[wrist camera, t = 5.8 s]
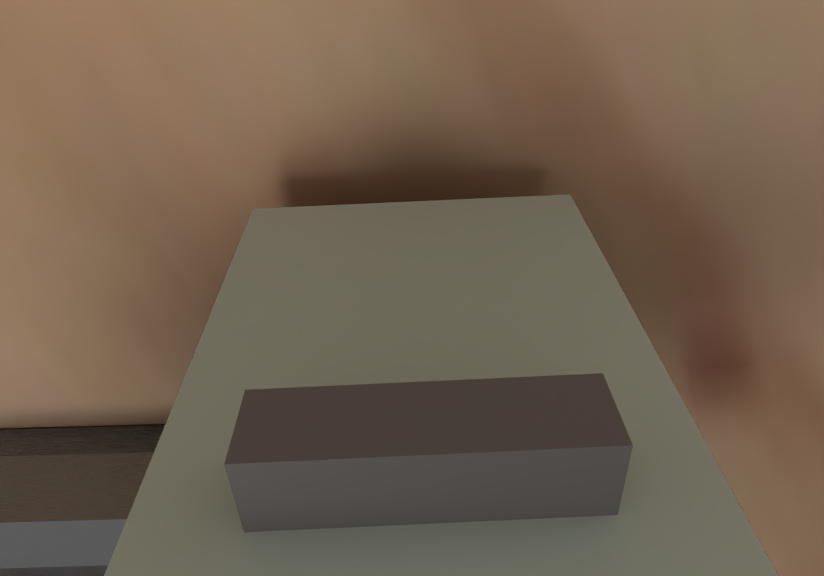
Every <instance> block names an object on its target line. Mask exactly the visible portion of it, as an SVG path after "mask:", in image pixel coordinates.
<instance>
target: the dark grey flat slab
mask: <svg viewBox="0 0 824 576" xmlns="http://www.w3.org/2000/svg"><path fill="white" fill-rule="evenodd" d="M164 427H165V425H152V426H116V427H79V428H43V429H7V430H0V576H104V575H105V572H106V570H107V567H108V565H109V562H110V560H111V557H112V555H113V552H114V550H115V547H116V545H117V543H118V540H119V538H120V535H121V533H122V530H123V528H124V525H125V523H126V520H127V518H128V515H129V513H130V510H131V508H132V506H133V503H134V501H135V498H136V496H137V493H138V491H139V488H140V486H141V483H142V481H143V478H144V476H145V473H146V471H147V469H148V466H149V464H150V461H151V459H152V456H153V454H154V451H155V449H156V446H157V444H158V441H159V439H160V436H161V434H162V432H163V429H164Z"/></svg>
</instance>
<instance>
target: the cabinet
mask: <svg viewBox="0 0 824 576" xmlns="http://www.w3.org/2000/svg"><path fill="white" fill-rule="evenodd" d="M104 576H778V574H777V572H776V571H775V569H774V567H773V565H772V563H771V561H770V560H769V558H768V556H767V554H766V552H765V550H764V549H763V547H762V545H761V543H760V541H759V539H758V538H757V536H756V534H755V532H754V530H753V528H752V527H751V525H750V523H749V521H748V519H747V517H746V516H745V514H744V512H743V510H742V508H741V506H740V505H739V503H738V501H737V499H736V497H735V495H734V494H733V492H732V490H731V488H730V486H729V484H728V483H727V481H726V479H725V477H724V475H723V473H722V472H721V470H720V468H719V466H718V464H717V462H716V461H715V459H714V457H713V455H712V453H711V451H710V450H709V448H708V446H707V444H706V442H705V440H704V439H703V437H702V435H701V433H700V431H699V429H698V428H697V426H696V424H695V422H694V420H693V418H692V417H691V415H690V413H689V411H688V409H687V407H686V406H685V404H684V402H683V400H682V398H681V396H680V395H679V393H678V391H677V389H676V387H675V385H674V384H673V382H672V380H671V378H670V376H669V374H668V373H667V371H666V369H665V367H664V365H663V363H662V362H661V360H660V358H659V356H658V354H657V352H656V351H655V349H654V347H653V345H652V343H651V341H650V340H649V338H648V336H647V334H646V332H645V330H644V329H643V327H642V325H641V323H640V321H639V319H638V318H637V316H636V314H635V312H634V310H633V308H632V307H631V305H630V303H629V301H628V299H627V297H626V296H625V294H624V292H623V290H622V288H621V286H620V285H619V283H618V281H617V279H616V277H615V275H614V274H613V272H612V270H611V268H610V266H609V264H608V263H607V261H606V259H605V257H604V255H603V253H602V252H601V250H600V248H599V246H598V244H597V242H596V241H595V239H594V237H593V235H592V233H591V231H590V230H589V228H588V226H587V224H586V222H585V220H584V219H583V217H582V215H581V213H580V211H579V209H578V208H577V206H576V204H575V202H574V200H573V198H572V197H571V195H570V194H566V195H544V196H522V197H500V198H478V199H456V200H434V201H412V202H390V203H367V204H345V205H323V206H301V207H279V208H257V209H253V210H252V212H251V214H250V217H249V219H248V222H247V224H246V227H245V229H244V232H243V234H242V237H241V239H240V242H239V244H238V247H237V249H236V251H235V254H234V256H233V259H232V261H231V264H230V266H229V269H228V271H227V274H226V276H225V279H224V281H223V284H222V286H221V288H220V291H219V293H218V296H217V298H216V301H215V303H214V306H213V308H212V311H211V313H210V316H209V318H208V321H207V323H206V325H205V328H204V330H203V333H202V335H201V338H200V340H199V343H198V345H197V348H196V350H195V353H194V355H193V358H192V360H191V362H190V365H189V367H188V370H187V372H186V375H185V377H184V380H183V382H182V385H181V387H180V390H179V392H178V395H177V397H176V399H175V402H174V404H173V407H172V409H171V412H170V414H169V417H168V419H167V422H166V424H165V427H164V429H163V432H162V434H161V436H160V439H159V441H158V444H157V446H156V449H155V451H154V454H153V456H152V459H151V461H150V464H149V466H148V469H147V471H146V473H145V476H144V478H143V481H142V483H141V486H140V488H139V491H138V493H137V496H136V498H135V501H134V503H133V506H132V508H131V510H130V513H129V515H128V518H127V520H126V523H125V525H124V528H123V530H122V533H121V535H120V538H119V540H118V543H117V545H116V547H115V550H114V552H113V555H112V557H111V560H110V562H109V565H108V567H107V570H106V572H105V575H104Z"/></svg>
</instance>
